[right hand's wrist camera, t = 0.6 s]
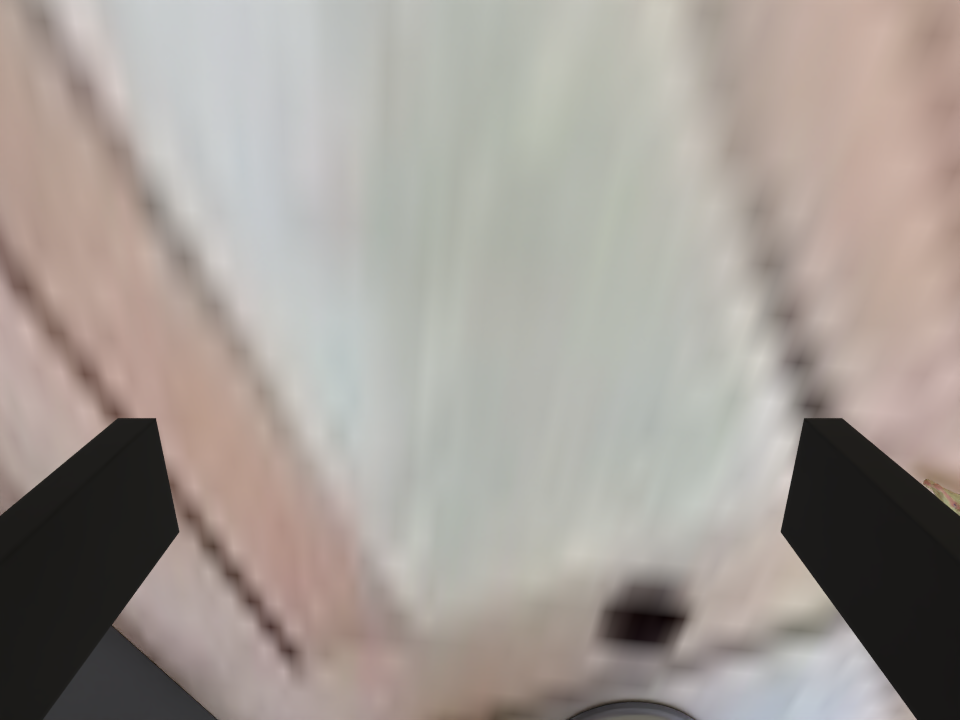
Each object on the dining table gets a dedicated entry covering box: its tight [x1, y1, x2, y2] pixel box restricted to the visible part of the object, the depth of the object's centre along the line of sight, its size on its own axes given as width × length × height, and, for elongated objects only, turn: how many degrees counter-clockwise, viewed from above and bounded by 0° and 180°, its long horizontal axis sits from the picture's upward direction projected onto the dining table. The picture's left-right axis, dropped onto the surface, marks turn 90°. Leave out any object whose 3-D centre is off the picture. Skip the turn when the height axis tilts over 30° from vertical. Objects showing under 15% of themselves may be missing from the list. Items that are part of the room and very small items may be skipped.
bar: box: [43, 626, 217, 720], centre depth 45 cm, size 52×4×8 cm, turn 33°
